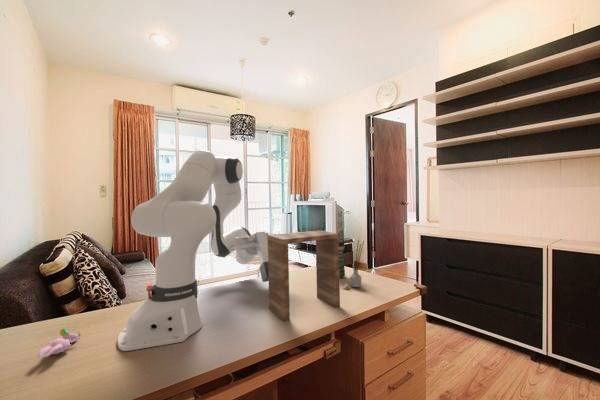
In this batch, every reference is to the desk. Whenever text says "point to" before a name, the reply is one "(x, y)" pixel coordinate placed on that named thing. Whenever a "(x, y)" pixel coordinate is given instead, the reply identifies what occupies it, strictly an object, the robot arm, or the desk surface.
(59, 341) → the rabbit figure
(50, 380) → the desk surface
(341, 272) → the coffee jar
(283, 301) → the shelf
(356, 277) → the reed diffuser
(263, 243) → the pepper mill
